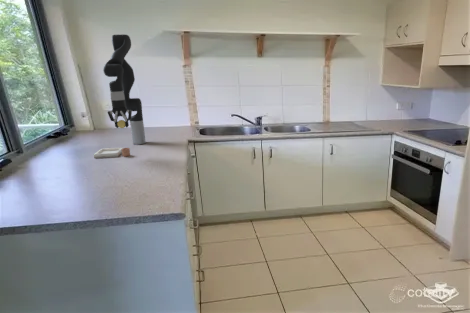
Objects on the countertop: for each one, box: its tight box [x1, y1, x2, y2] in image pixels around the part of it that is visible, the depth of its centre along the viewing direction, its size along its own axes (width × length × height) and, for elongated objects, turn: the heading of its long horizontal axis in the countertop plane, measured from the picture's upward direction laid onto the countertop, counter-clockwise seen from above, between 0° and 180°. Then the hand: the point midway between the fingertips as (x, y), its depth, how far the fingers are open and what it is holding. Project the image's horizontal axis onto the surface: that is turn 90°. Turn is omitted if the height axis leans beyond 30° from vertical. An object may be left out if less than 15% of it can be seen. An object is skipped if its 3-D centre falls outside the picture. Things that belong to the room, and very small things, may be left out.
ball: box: [117, 119, 126, 129], centre depth 169 cm, size 5×5×5 cm
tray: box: [93, 147, 124, 159], centre depth 178 cm, size 14×14×2 cm
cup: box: [121, 147, 131, 158], centre depth 173 cm, size 5×5×5 cm
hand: (122, 127), depth 169 cm, fingers closed on ball, 5 cm apart
